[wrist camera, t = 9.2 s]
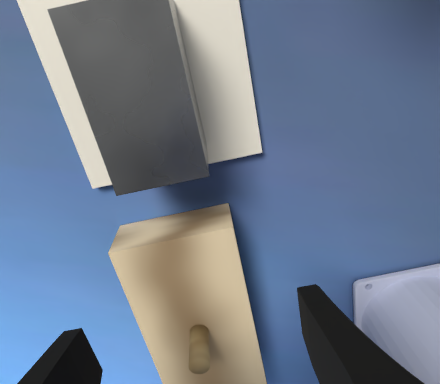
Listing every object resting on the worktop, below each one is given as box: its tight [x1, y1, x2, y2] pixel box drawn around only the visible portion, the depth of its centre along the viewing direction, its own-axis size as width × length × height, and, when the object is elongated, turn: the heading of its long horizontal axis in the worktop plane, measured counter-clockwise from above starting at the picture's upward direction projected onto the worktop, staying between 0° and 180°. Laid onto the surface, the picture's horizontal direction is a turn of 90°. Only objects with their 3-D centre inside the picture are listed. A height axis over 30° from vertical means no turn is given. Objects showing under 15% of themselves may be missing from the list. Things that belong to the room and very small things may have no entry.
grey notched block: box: [47, 0, 209, 196], centre depth 14 cm, size 4×7×5 cm, turn 12°
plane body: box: [108, 203, 267, 384], centre depth 21 cm, size 7×14×6 cm, turn 12°
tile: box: [17, 0, 262, 188], centre depth 17 cm, size 10×10×1 cm
